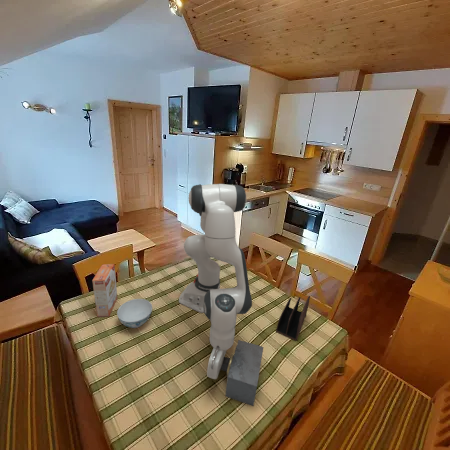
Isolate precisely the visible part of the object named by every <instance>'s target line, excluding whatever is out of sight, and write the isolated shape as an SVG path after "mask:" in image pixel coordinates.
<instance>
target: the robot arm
mask: <svg viewBox="0 0 450 450" xmlns="http://www.w3.org/2000/svg"><path fill="white" fill-rule="evenodd" d="M188 203H189V206H190V209H191V210H193V212H195V213H197V214H199V216H200V222H199V223H200V225H199V226H200V228H201V230H202V232H203V233H204V234H195V235H190V236H188V237H187V238H186V239H185V241H184V243H183V251H184V252H185V254H186V255H187V256H188V257H190V258H191V259H192V260H193V261H194V262H195V264H196V266H197V271H198V272H197V274H196V276H195V278H194V280H193V281H191V282H190V283H188V285H187V286H186V287H185V289H184V290H183V291H182V292H181V294H180V295H179V298H178V303H179V304H180V305H182V306H184V307H188V309H191V310H194V311H196V312H198V313H200V314H203V313H204V316H205V317H206V318H207V319H208V320H209V321H210V323H211V325H210V329H209V339H208V340H209V343H210V345H211V346H212V348H213V349H212V351H211V354H210V356H209V359H208V364H207V369H206V370H207V371H206V376H207V377H208V378H210V379H213V380H217V379H218V377H219V374H220V371H221V370H220V368H221V365H222V362H223V360H224V357H226V353H227V350H229V349H231V348H232V346H234V342H235V335H236V334H235V333H236V324H237V318H238V317H237V315H246V314H247V313H248V312H249V311H250V310H251V308H252V307H253V300H252V295H251V290H250V284H249V276H248V267H247V261H246V256H245V253H244V250H243V249H242V248H241V247H239V246H238V244H237V240H236V219H235V218H236V217H235V213H238V212H242V211H243V210H244V208H245V207H246V204H247V193H246V190H245V188H244V187H243V186H241V185H240V184H239V185H238V184H225V183H213V184H212V183H211V184H196V185H192V187H191V188H190V191H189V193H188ZM211 258H212V259H211ZM213 258H214V259H215V260H218V261H220V262H223V263H226V264H229V265H231V266H232V267H234V272H235V279H236V286H235V287H229V288H227V287H226V288H221V278H220V276H221V275H220V274H221V267H220V265H219V263H218V262H216V261H215V260H213Z"/></svg>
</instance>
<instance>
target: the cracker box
mask: <svg viewBox="0 0 450 450" xmlns="http://www.w3.org/2000/svg"><path fill="white" fill-rule="evenodd" d="M116 280H117V278H116V269H115V264H112V263H110V264H109V263H108V264H106V263H105V264H102V265H101V266H100V268H99V269H98V270H97V272H96V274H95V275H94V277H93V279H92V280H91V282H92V288H93V295H94V301H95V308H96V315H97V316H96V317H97V318H99V317H110V316H111V313H112V311H113V309H114V307H115V304H116V302H117V300H118V290H117V281H116Z"/></svg>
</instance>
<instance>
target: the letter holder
mask: <svg viewBox="0 0 450 450" xmlns="http://www.w3.org/2000/svg"><path fill="white" fill-rule="evenodd" d="M310 299H311V296H310V295H308V296H307V299H306V301H305V303H304V306H303V309H302V311H299V310H298V309H299V306H300V300H301V297H300V296H298V298H297V301H296V303H295V305H294V307H293V308H292V307H290V305H291V300H292V297H290V298H289V299H288V301H287V303H286V305H285V306H284V308H283V310H282V312H281V314H280V316H279V318H278V321H277V326H276V330H275V332H276V333H278V334H281V335H283V336H285V337H287V338H288V339H290V340H293V341H295V342H297V341H298V338H299V335H300V332H301V330H302V328H303V325H304V322H305V319H306V317H307V314H308V313H307V312H308V309H309V304H310Z"/></svg>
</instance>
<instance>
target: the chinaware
mask: <svg viewBox="0 0 450 450" xmlns="http://www.w3.org/2000/svg"><path fill="white" fill-rule="evenodd" d="M152 312H153V304H152V302H150V301H149V300H148V299H144V298H133V299H130V300H127V301H125V302H123V303H122V304H121V305H120V306H119V308H118V309H117V311H116V315H117V317H118V320H119V322H120V323H121V324H122V325H124V326H125V327H128V328H132V329H137V328H140V327H142V326H143V325H144V324H145V323H147V322H148V320H149V319H150V317H151V314H152Z"/></svg>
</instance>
